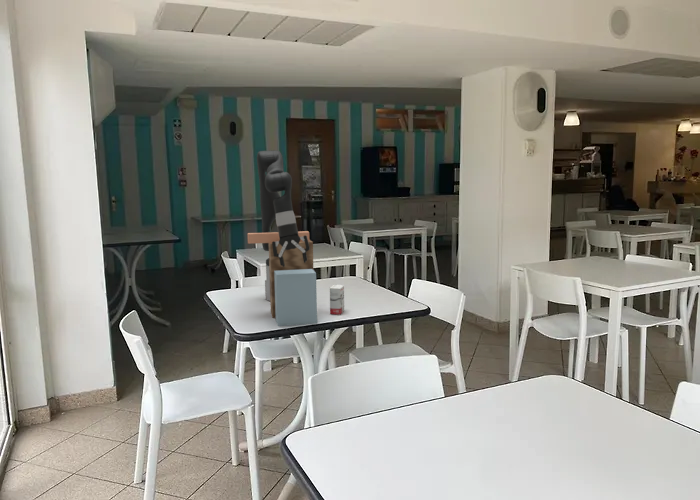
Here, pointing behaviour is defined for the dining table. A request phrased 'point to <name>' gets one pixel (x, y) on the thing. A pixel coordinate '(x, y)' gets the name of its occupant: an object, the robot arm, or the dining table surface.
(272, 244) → the robot arm
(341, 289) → the ink box
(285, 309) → the grey foam block
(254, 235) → the bar
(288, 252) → the plinth
